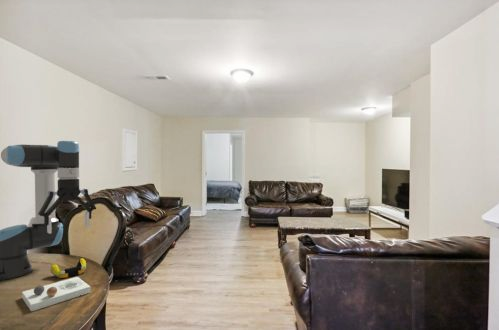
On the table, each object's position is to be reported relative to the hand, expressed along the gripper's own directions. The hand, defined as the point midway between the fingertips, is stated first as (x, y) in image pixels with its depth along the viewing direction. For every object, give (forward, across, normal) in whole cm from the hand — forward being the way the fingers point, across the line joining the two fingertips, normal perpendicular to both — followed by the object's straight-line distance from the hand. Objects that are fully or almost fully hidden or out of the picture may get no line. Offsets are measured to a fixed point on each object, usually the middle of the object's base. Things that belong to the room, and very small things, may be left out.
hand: (69, 229), depth 115 cm
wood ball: (+23, -6, -2) cm, 24 cm away
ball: (+23, -9, +4) cm, 25 cm away
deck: (+27, -3, +4) cm, 28 cm away
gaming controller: (+28, +8, +26) cm, 38 cm away
